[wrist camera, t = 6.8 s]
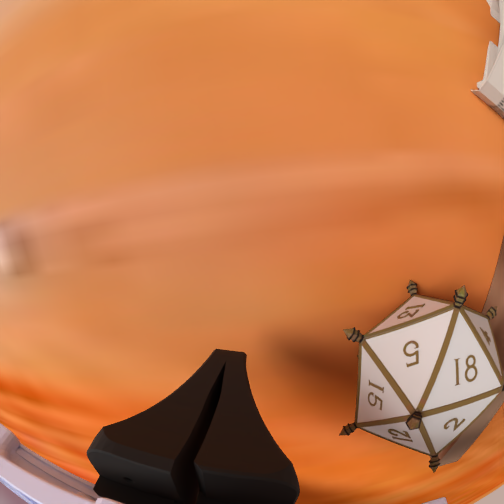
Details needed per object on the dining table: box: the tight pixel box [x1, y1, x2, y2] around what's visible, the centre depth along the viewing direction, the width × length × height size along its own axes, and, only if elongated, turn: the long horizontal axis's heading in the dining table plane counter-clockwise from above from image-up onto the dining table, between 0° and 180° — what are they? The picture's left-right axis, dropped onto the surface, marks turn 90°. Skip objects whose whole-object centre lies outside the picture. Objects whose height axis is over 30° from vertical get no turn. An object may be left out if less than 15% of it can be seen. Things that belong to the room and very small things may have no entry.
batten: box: [430, 237, 504, 466], centre depth 12 cm, size 19×2×4 cm, turn 177°
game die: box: [339, 280, 504, 472], centre depth 10 cm, size 9×8×10 cm
